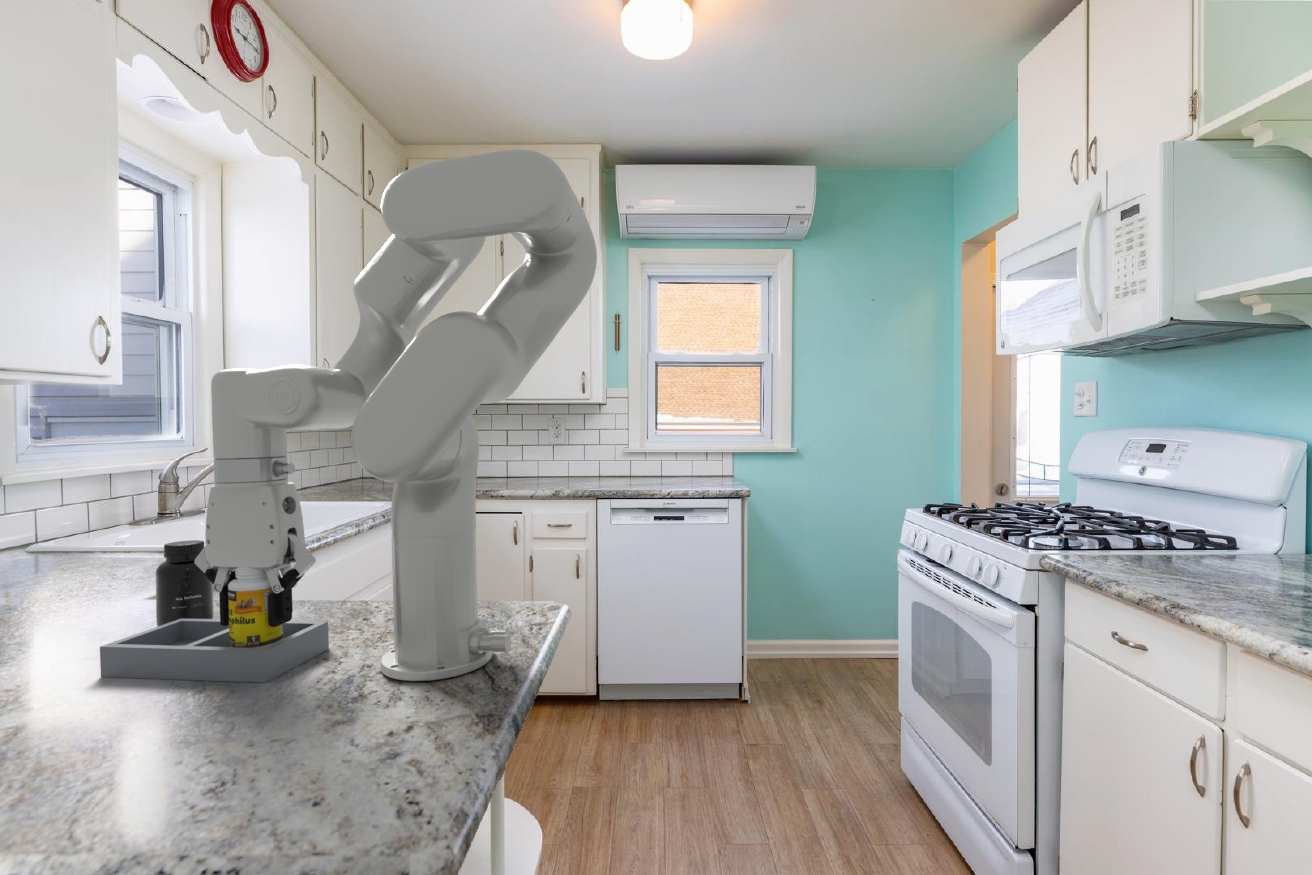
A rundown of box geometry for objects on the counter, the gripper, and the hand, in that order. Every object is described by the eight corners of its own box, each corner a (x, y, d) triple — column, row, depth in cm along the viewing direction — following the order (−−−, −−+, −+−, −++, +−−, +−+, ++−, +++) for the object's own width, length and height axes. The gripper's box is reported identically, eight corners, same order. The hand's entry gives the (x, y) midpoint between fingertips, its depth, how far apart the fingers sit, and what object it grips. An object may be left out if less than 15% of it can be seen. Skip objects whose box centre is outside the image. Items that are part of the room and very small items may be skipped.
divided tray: (328, 648, 84) (327, 621, 83) (266, 682, 73) (265, 651, 73) (182, 644, 86) (181, 618, 86) (100, 676, 76) (99, 646, 75)
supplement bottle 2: (218, 652, 77) (215, 565, 77) (259, 637, 82) (257, 556, 82) (254, 656, 75) (252, 568, 75) (294, 641, 81) (292, 558, 80)
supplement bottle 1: (184, 632, 92) (181, 547, 92) (144, 630, 93) (141, 546, 93) (225, 618, 99) (223, 538, 98) (187, 616, 100) (185, 538, 100)
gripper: (337, 470, 81) (341, 615, 81) (212, 471, 83) (217, 612, 84) (296, 474, 73) (301, 634, 74) (160, 476, 76) (166, 631, 76)
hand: (256, 621), depth 79 cm, fingers closed on supplement bottle 2, 5 cm apart
